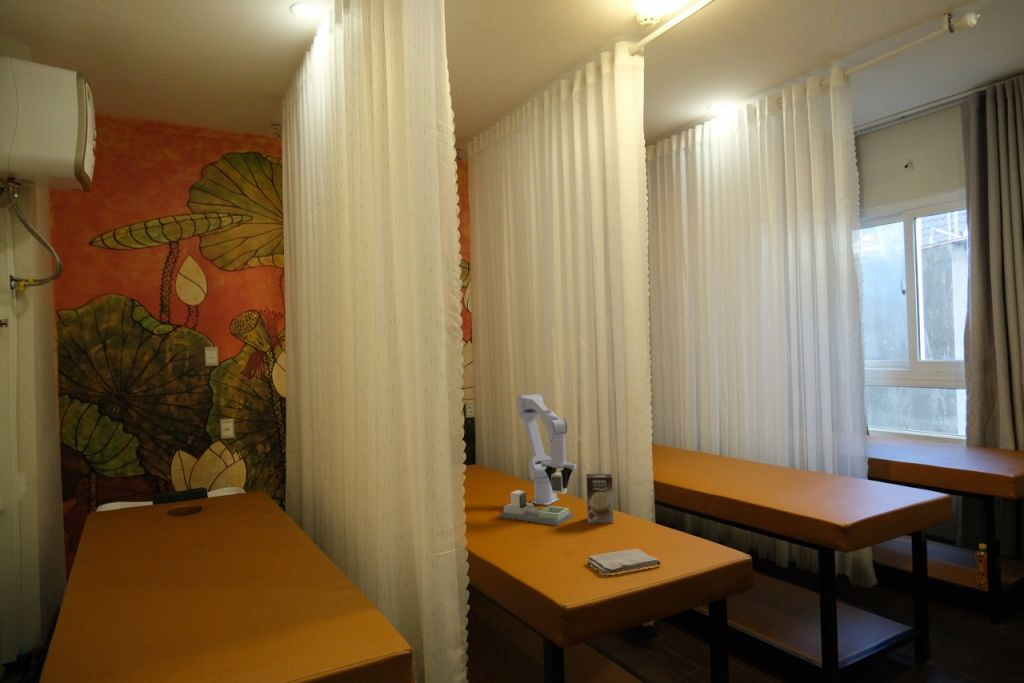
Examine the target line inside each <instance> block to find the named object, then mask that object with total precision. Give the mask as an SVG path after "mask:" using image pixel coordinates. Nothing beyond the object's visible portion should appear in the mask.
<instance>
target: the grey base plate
mask: <svg viewBox="0 0 1024 683" xmlns="http://www.w3.org/2000/svg"><path fill="white" fill-rule="evenodd" d="M526 504H527V506H525V507H523V508H515V507H511V503H509V504H507V505H504V506H503V511H502V512H500V513H499V518H501V517H504V518H503V519H508V518H511V519H510V520H514V519H518V520H517V521H521V520H525V521H524V522H528V521H530V523H534V522H536V523H535V524H541V523H542V524H541V525H549V526H554V527H557V526H559V525H560V524H561V525H562V524H563V523H564V522H566V521H568V520H570V519H572V518H573V517H574V512H570V508H569V507H568V508H567V507H560V506H554V505H552V506H551V505H547V507H544V508H540V507H539V508H538V507H534V506H535V505H534V504H533V503H531V502H530V503H529V502H526ZM571 517H572V518H571Z"/></svg>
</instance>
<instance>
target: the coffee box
mask: <svg viewBox="0 0 1024 683" xmlns="http://www.w3.org/2000/svg"><path fill="white" fill-rule="evenodd" d="M585 475H586V476H585V477H586V481H585V482H586V514H587V515H586V516H587V517H586V518H587V523H588V524H614V522H615V521H614V494H613V493H614V492H613V491H614V490H613V475H612V474H611V473H586V474H585Z"/></svg>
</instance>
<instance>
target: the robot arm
mask: <svg viewBox="0 0 1024 683" xmlns="http://www.w3.org/2000/svg"><path fill="white" fill-rule="evenodd" d="M516 409H517V411H518V415H519V418H522V419H523V420H522V421H523V424H524V427H525V431H526V432H525V433H526V435H527V438H528V442H529V447H530V450H531V455H532V458H531V459H530V460H529V461H528V465H527V466H528V475H529V477H530V479H531V480H532V481H533V489H534V490H533V492H534V500H532V501H530V503H531V504H533V503H534V504H535V505H541V506H550V505H551V504H553V503H555V502H557V501H560V499H559V498H558V497H557V496H558V494H557V493H552V478H551V474H554V473H557V469H561V470H560V473H561V474H562V480H563V488H564V489H565V488H567V489H568V486H569V485H568V484H569V480H570V478H571V474H572V472H573V471H575V470H577V467H578V466H577V465H578V464H577V463H572V462H568V461H567V456H566V454H567V453H566V434H567V432H568V424H567V421H566V419H565V418H561V417H560V418H559V416H557V414H556V413H555V412H554V411H553V410H552V409H551V408H547V407H546V405H545V403H544V398H543V396H542V395H541V393H536V394H534V393H533V394H524V395H522V394H520V395H518V397H517V398H516ZM537 417H539V419H540V421H541V423H542V424H544V425H545V427H546V432H547V436H548V440H549V447H550V448H549V449H550V453H549V454H550V456H549V455H547V454H546V453H545V448H544V445H543V441H542V437H541V434H540V431H539V427H538V426H539V425H538V423H537Z"/></svg>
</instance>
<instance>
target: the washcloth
mask: <svg viewBox="0 0 1024 683" xmlns="http://www.w3.org/2000/svg"><path fill="white" fill-rule="evenodd" d="M587 562H588V563H589V564H591V565H592V566H593V567H594V568H596V569H597V570H598V571H599V572H601V573H602V574H604V575H607V574H612V573H618V572H622V571H629V570H634V569H640V568H643V567H649V566H655V565H660V566H661V564H662V563H661V560H659V559H658V558H656V557H654V556H651V555H648V554H647V553H646V552H644V551H642V550H640V549H638V548H632V549H626V550H617V551H613V552H612V551H611V552H605V553H600V554H594V555H589V556H588V557H587ZM589 564H588V565H589ZM599 572H598V573H599ZM602 574H601V575H602ZM604 575H603V576H604Z"/></svg>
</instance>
